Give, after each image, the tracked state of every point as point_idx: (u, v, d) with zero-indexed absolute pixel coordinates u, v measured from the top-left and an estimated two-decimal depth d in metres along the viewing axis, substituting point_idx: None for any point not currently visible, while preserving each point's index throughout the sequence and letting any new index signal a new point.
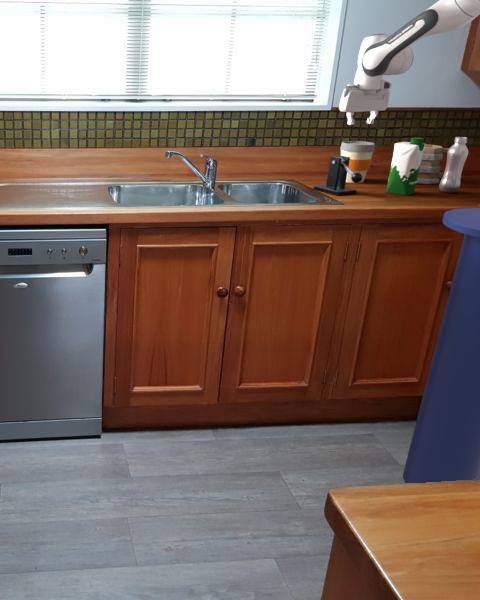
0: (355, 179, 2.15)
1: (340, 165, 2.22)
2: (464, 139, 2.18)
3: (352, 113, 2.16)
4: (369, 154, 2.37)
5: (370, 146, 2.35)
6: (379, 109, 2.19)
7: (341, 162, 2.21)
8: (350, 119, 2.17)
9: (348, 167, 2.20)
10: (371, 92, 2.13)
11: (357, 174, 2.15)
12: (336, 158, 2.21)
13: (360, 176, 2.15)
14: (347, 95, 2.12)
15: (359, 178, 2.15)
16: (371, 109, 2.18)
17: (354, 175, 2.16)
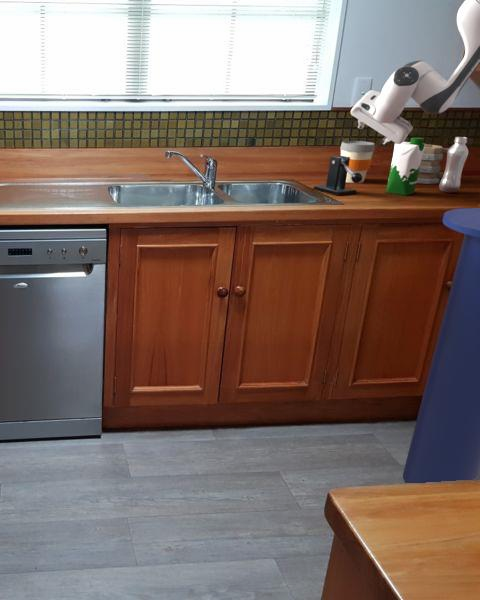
0: (355, 179, 2.15)
1: (340, 165, 2.22)
2: (464, 139, 2.18)
3: None
4: (369, 154, 2.37)
5: (370, 146, 2.35)
6: None
7: (341, 162, 2.21)
8: None
9: (348, 167, 2.20)
10: None
11: (357, 174, 2.15)
12: (336, 158, 2.21)
13: (360, 176, 2.15)
14: None
15: (359, 178, 2.15)
16: None
17: (354, 175, 2.16)
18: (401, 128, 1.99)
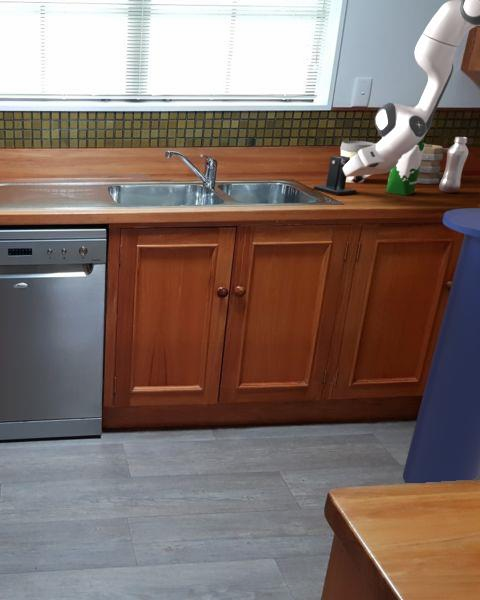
0: (355, 179, 2.15)
1: (340, 165, 2.22)
2: (464, 139, 2.18)
3: None
4: None
5: None
6: None
7: (341, 162, 2.21)
8: None
9: None
10: None
11: None
12: (336, 158, 2.21)
13: (360, 176, 2.15)
14: None
15: (359, 178, 2.15)
16: None
17: None
18: (396, 161, 2.09)
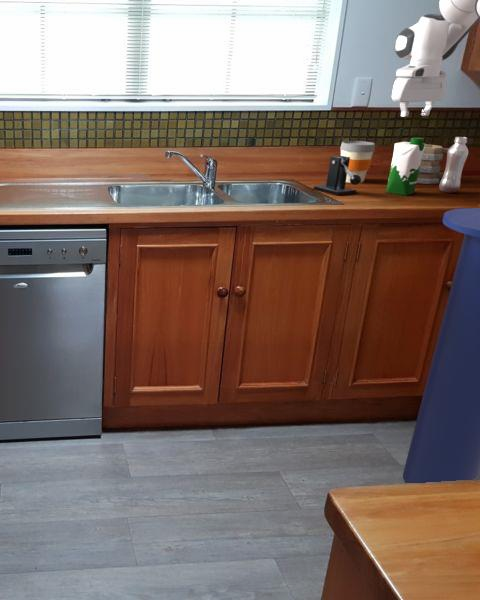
0: (354, 181, 2.16)
1: (340, 165, 2.22)
2: (464, 139, 2.18)
3: None
4: (369, 154, 2.37)
5: (370, 146, 2.35)
6: None
7: (341, 162, 2.21)
8: None
9: (347, 168, 2.20)
10: None
11: (356, 176, 2.16)
12: (336, 158, 2.21)
13: (359, 179, 2.16)
14: None
15: (357, 181, 2.16)
16: None
17: (353, 177, 2.16)
18: (443, 77, 1.94)
